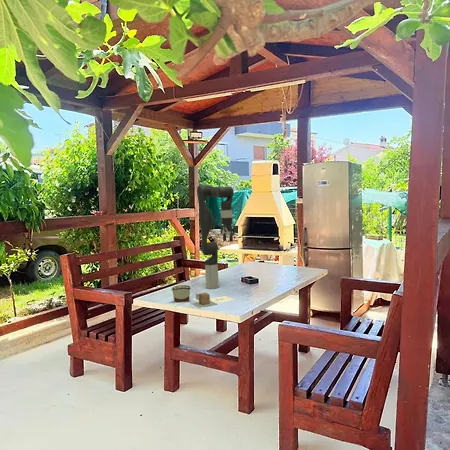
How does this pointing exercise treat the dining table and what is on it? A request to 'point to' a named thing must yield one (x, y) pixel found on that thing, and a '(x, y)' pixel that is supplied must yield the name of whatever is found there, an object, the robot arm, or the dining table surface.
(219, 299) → the plaque
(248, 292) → the dining table surface
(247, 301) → the dining table surface
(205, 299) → the block
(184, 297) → the food container
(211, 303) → the mat
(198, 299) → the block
